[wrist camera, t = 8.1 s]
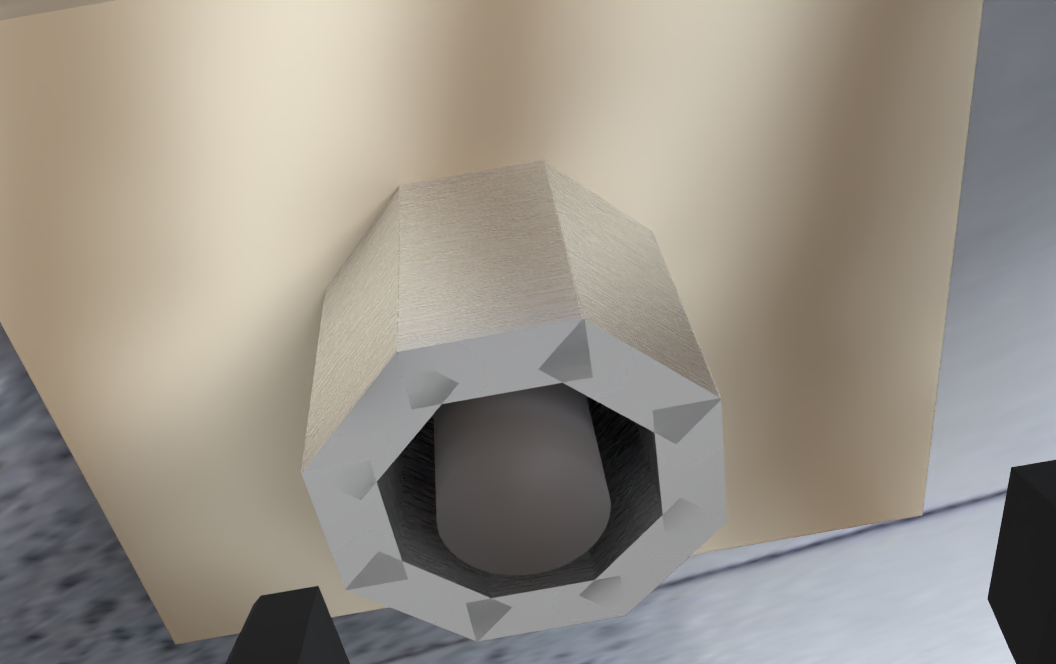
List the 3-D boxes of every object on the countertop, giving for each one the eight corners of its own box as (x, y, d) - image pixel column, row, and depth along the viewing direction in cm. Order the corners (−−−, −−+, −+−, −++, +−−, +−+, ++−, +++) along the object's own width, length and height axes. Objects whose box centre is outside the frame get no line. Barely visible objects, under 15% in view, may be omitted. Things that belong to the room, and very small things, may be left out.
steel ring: (645, 141, 16) (717, 294, 12) (668, 410, 19) (730, 596, 15) (298, 203, 16) (263, 375, 12) (379, 461, 19) (371, 660, 15)
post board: (961, -169, 15) (1219, -81, 10) (899, 476, 22) (1031, 699, 17) (-112, 20, 15) (-357, 194, 10) (185, 600, 22) (125, 855, 17)
